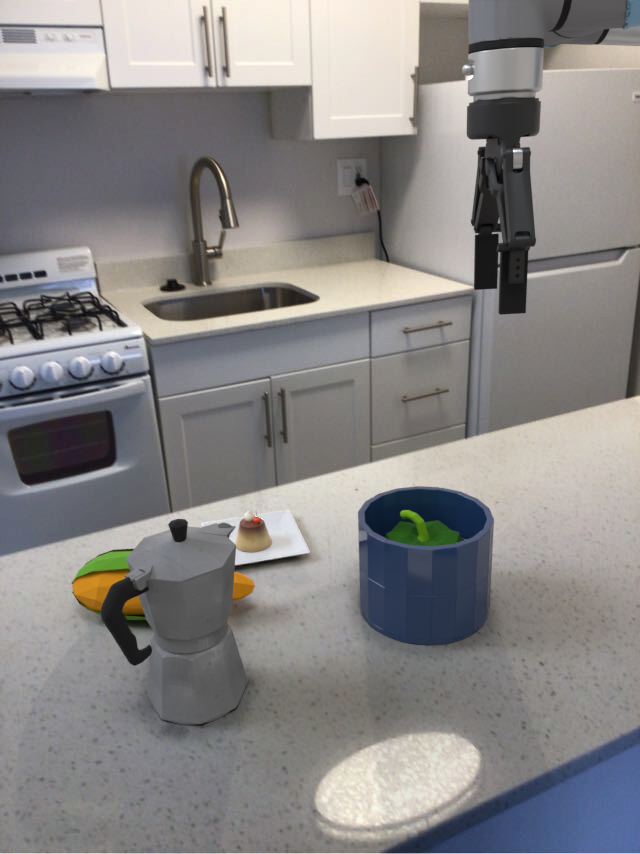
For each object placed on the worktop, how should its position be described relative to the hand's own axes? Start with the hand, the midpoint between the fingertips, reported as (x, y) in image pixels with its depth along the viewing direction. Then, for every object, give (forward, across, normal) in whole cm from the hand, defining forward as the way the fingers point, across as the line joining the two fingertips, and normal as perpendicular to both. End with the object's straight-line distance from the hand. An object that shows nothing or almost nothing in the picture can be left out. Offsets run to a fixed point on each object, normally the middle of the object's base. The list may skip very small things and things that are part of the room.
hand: (497, 300), depth 86 cm
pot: (+29, +16, -11) cm, 35 cm away
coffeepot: (+29, +30, -34) cm, 54 cm away
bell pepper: (+29, +15, -11) cm, 35 cm away
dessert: (+29, +2, -30) cm, 42 cm away
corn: (+29, +15, -39) cm, 51 cm away
